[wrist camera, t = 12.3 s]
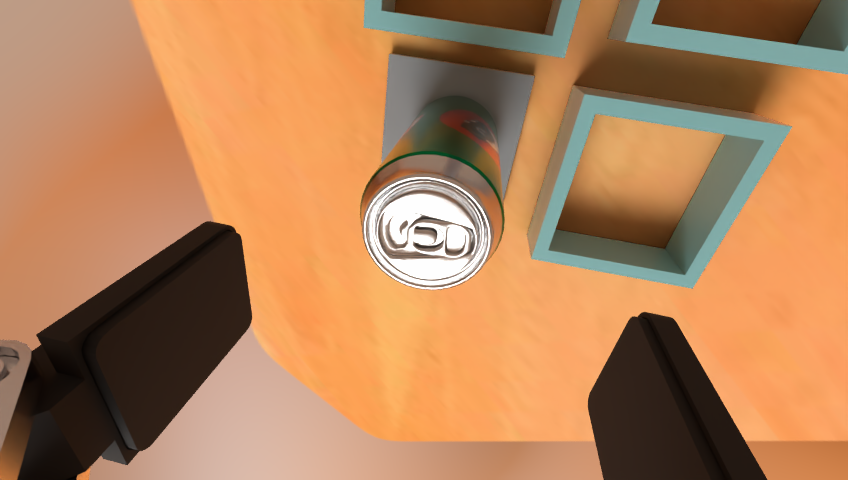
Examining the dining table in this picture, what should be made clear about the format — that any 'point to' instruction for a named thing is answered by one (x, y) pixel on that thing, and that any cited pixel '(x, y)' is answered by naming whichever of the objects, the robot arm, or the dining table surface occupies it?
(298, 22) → the dining table surface
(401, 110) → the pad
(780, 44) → the dish
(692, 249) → the dish
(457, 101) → the soda can
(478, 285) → the dining table surface
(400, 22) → the dish
